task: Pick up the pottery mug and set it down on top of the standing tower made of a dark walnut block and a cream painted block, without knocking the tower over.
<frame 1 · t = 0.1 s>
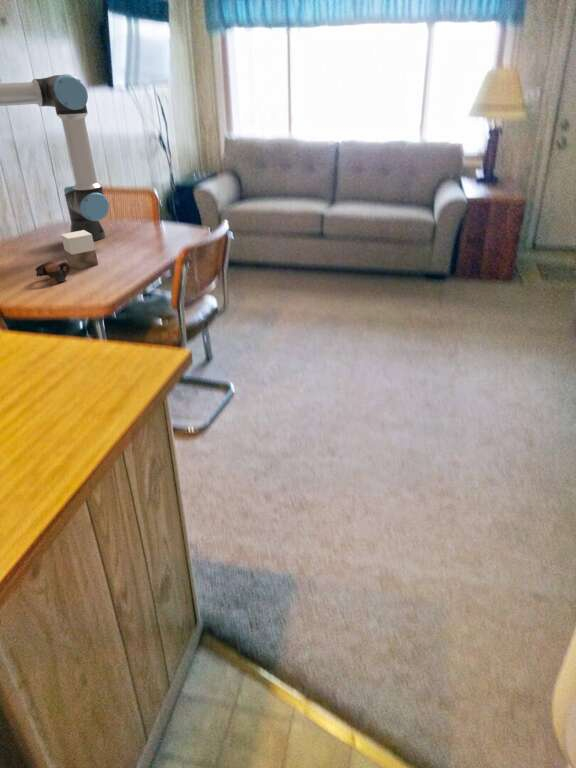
pottery mug: (56, 281, 198), on the table
tower top block: (79, 249, 211), point 6 cm above the table, touching tower base block
tower base block: (83, 264, 214), on the table, touching tower top block
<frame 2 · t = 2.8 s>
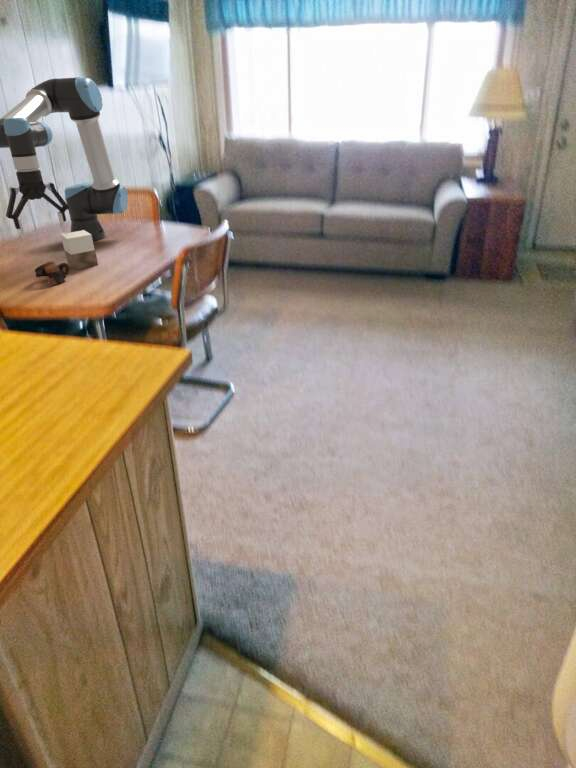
hand: (44, 234, 190), 17 cm above the table, tool pointing down, fingers open, 13 cm apart
nothing on the table moved.
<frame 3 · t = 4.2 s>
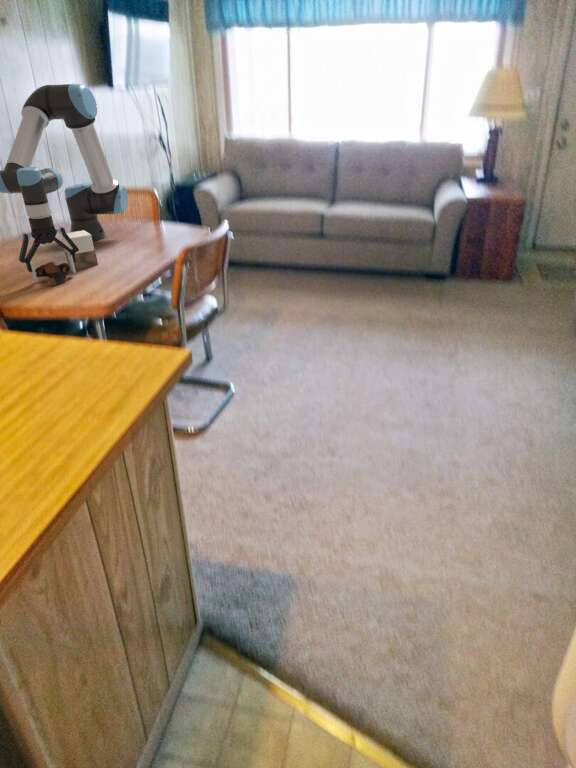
hand: (55, 276, 197), 2 cm above the table, tool pointing down, fingers open, 13 cm apart
pottery mug: (55, 282, 197), on the table, touching gripper
everything else where it was.
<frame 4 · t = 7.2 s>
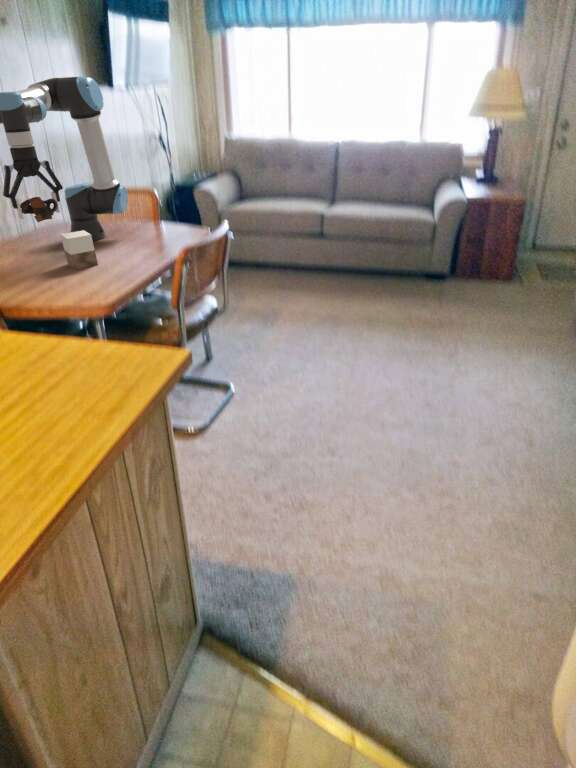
hand: (39, 214, 187), 23 cm above the table, tool pointing down, fingers closed on pottery mug, 11 cm apart
pottery mug: (42, 219, 187), point 22 cm above the table, touching gripper
everything else where it was.
when the fingers open (14 cm above the table, at t = 11.2 s): pottery mug drops 1 cm, resting on tower top block.
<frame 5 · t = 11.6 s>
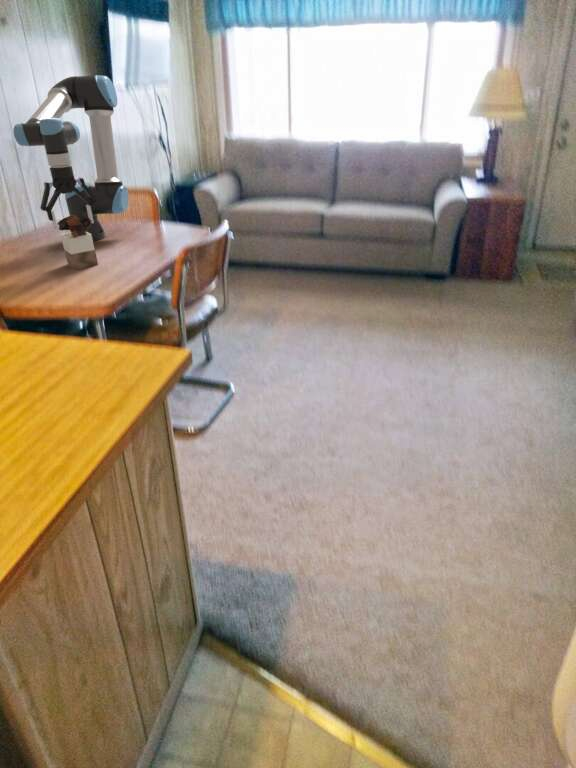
hand: (74, 225, 206), 15 cm above the table, tool pointing down, fingers open, 13 cm apart
pottery mug: (77, 235, 207), point 12 cm above the table, touching tower top block
tower top block: (79, 249, 211), point 6 cm above the table, touching pottery mug, tower base block
everything else where it was.
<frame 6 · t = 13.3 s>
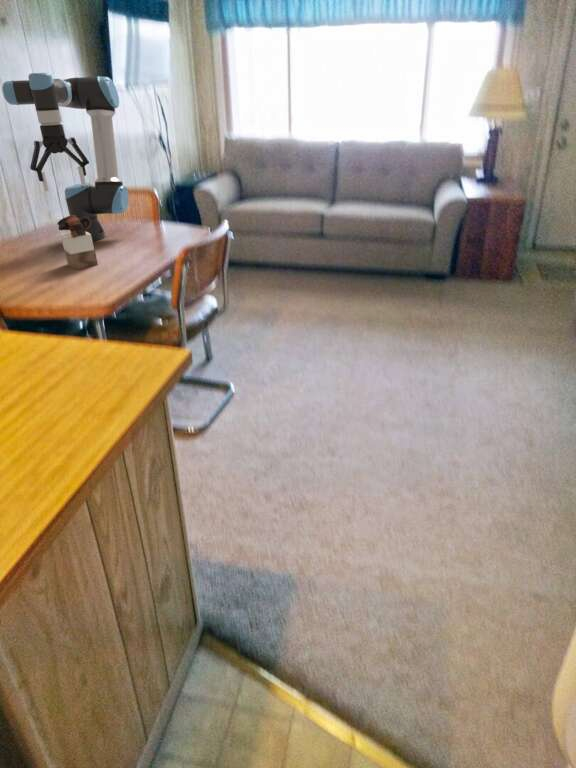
hand: (65, 188, 199), 29 cm above the table, tool pointing down, fingers open, 13 cm apart
nothing on the table moved.
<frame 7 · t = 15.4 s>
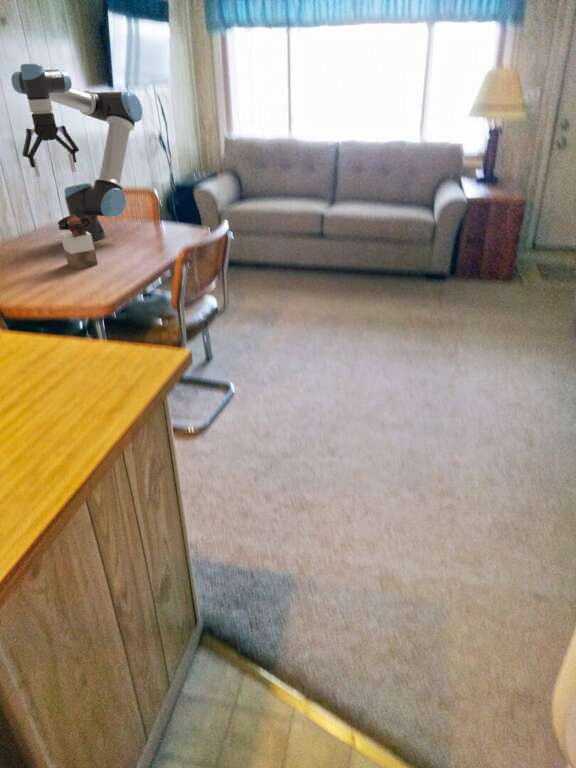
hand: (56, 174, 209), 32 cm above the table, tool pointing down, fingers open, 13 cm apart
nothing on the table moved.
at the end: pottery mug inside the target area on the tower base block (1.0 cm from its centre), point 11.8 cm above the tower base block's base; tower top block point 5.8 cm above the table; tower top block 0.2 cm from the tower base block (horizontally) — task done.
